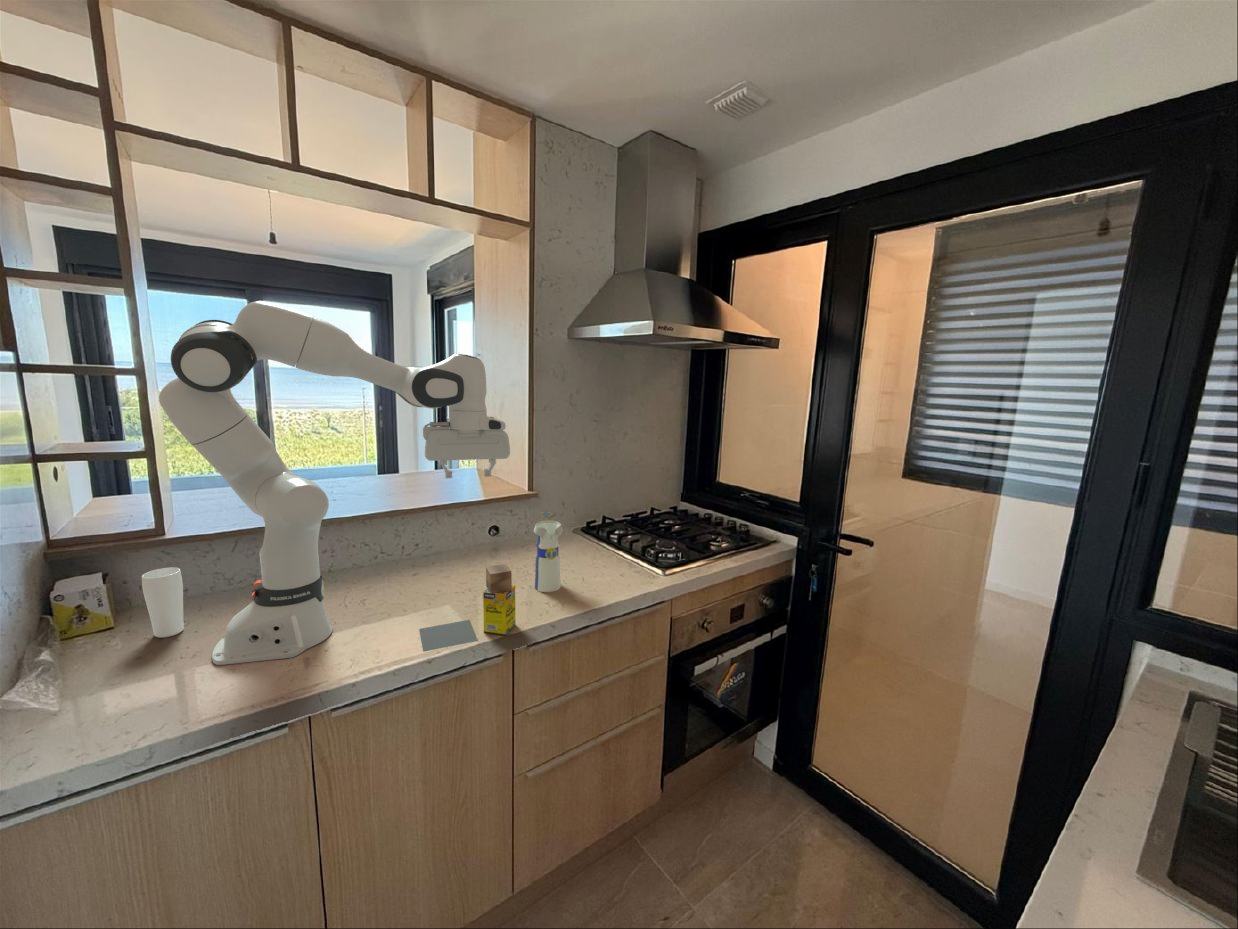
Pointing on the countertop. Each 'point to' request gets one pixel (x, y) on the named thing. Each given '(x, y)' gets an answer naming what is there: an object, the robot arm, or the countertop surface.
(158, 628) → the drinking glass
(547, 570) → the white and blue cylinder
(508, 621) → the supplement box
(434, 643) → the mat
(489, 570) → the walnut cube
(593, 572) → the countertop surface
